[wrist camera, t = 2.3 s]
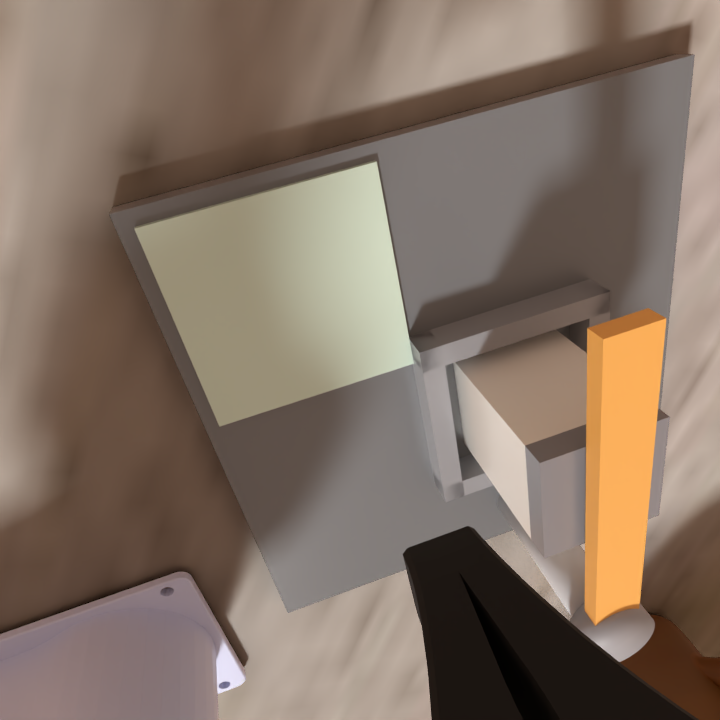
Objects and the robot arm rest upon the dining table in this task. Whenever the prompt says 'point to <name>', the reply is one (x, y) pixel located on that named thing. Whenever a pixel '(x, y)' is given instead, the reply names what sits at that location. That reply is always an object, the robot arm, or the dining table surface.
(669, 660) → the mug
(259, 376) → the socket board
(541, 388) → the plug
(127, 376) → the dining table surface
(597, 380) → the orange flat bar
